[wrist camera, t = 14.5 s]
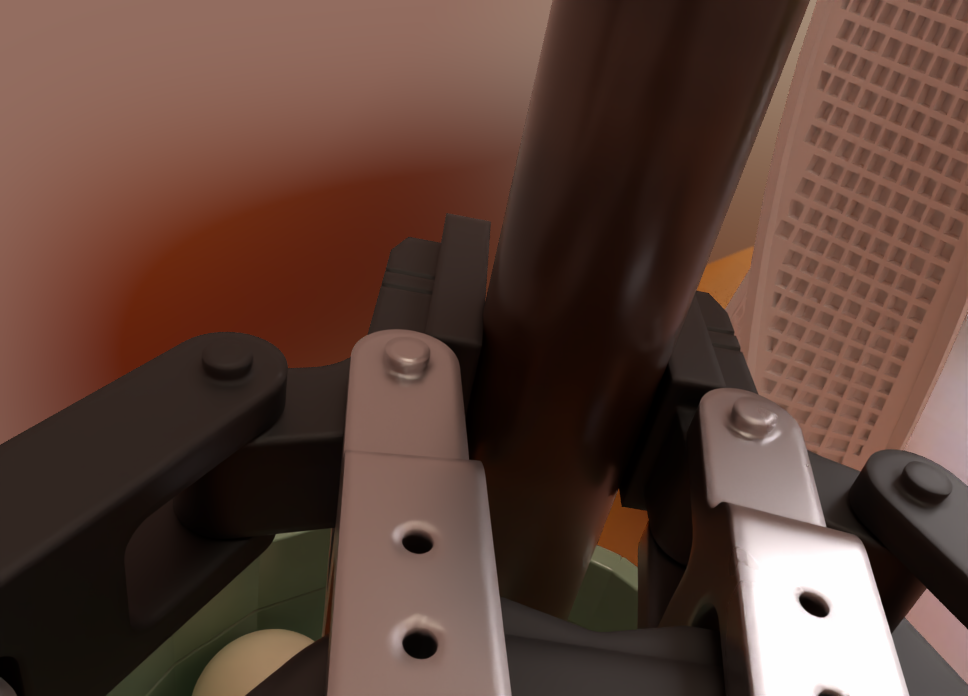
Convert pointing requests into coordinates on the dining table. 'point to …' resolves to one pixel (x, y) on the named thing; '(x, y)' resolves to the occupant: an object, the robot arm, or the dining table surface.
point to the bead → (248, 662)
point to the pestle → (606, 257)
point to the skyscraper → (863, 226)
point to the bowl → (301, 600)
